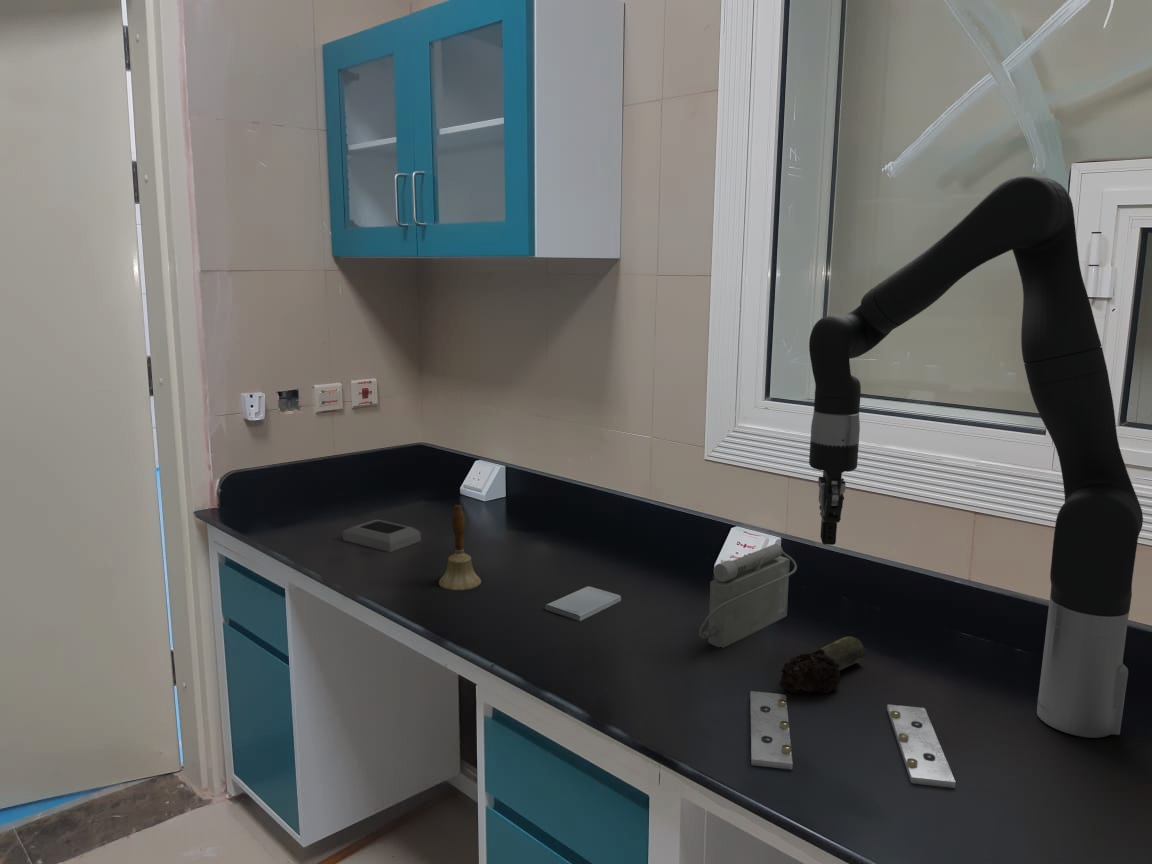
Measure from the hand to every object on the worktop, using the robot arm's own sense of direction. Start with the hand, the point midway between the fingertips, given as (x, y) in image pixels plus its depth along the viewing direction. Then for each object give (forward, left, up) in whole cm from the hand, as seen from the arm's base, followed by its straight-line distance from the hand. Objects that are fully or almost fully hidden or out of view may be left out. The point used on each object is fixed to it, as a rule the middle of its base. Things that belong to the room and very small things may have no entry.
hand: (827, 541), depth 141 cm
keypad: (+94, -34, -18) cm, 102 cm away
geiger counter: (+13, +1, -17) cm, 22 cm away
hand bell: (+68, -12, -17) cm, 71 cm away
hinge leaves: (0, +32, -17) cm, 36 cm away
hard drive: (+42, -6, -18) cm, 46 cm away
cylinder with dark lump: (+1, +15, -18) cm, 23 cm away
